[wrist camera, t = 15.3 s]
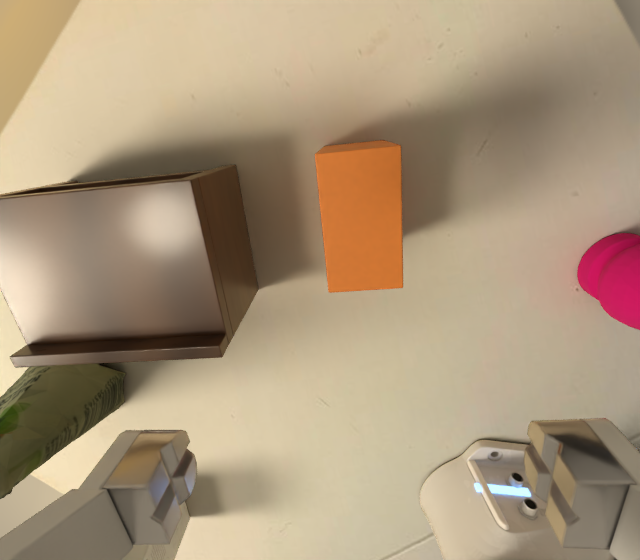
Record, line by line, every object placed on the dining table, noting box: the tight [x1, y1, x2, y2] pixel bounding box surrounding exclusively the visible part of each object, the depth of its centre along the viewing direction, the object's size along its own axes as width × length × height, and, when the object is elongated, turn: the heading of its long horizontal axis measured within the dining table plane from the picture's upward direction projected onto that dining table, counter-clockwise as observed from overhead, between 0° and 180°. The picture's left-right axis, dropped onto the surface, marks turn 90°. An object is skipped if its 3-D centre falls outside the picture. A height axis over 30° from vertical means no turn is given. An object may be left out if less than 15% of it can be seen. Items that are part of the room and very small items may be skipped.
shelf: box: [0, 165, 258, 367], centre depth 29 cm, size 16×12×12 cm
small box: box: [122, 501, 190, 560], centre depth 44 cm, size 8×6×10 cm
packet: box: [315, 140, 403, 292], centre depth 27 cm, size 5×9×10 cm, turn 6°
